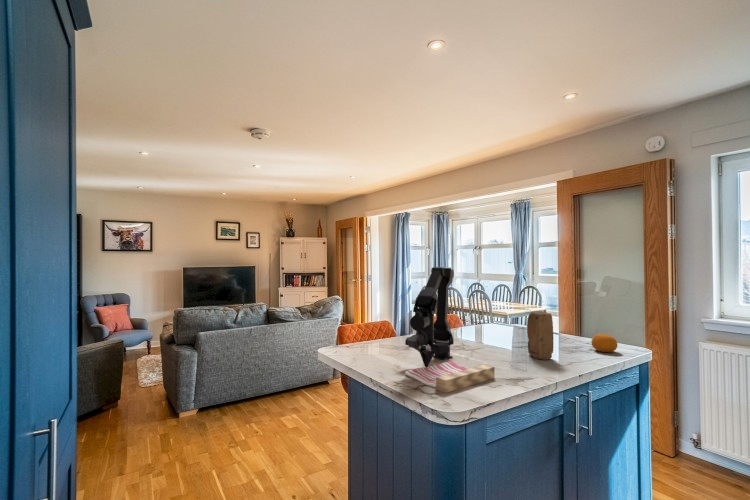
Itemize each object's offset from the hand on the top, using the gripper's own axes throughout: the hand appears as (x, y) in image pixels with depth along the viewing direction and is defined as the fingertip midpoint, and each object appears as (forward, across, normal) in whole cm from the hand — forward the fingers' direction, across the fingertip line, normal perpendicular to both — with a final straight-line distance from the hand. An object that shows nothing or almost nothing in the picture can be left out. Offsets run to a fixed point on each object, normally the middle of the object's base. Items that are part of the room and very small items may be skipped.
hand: (426, 366), depth 146 cm
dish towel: (+2, +9, -1) cm, 9 cm away
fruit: (+2, +28, +89) cm, 94 cm away
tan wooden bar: (+1, +20, 0) cm, 20 cm away
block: (+1, +16, +54) cm, 56 cm away
